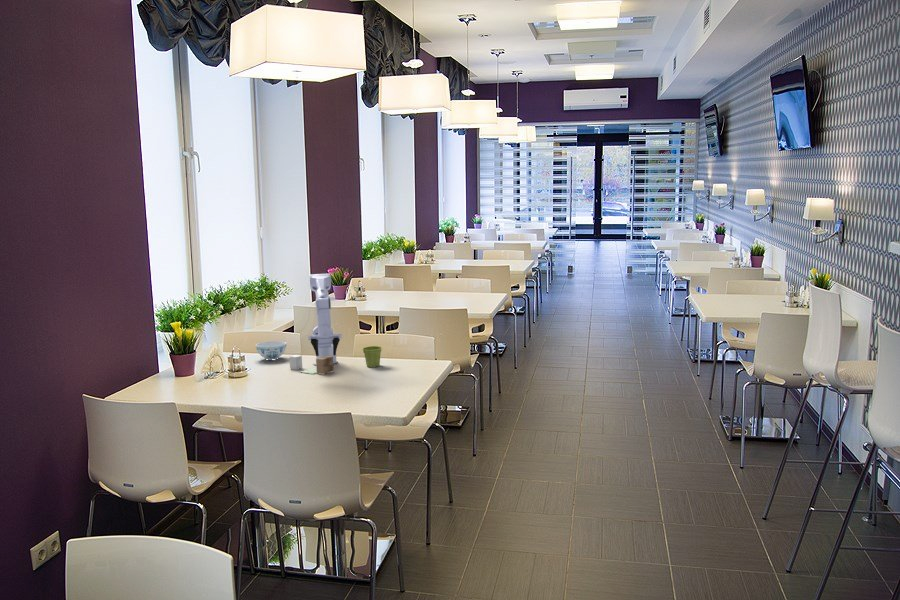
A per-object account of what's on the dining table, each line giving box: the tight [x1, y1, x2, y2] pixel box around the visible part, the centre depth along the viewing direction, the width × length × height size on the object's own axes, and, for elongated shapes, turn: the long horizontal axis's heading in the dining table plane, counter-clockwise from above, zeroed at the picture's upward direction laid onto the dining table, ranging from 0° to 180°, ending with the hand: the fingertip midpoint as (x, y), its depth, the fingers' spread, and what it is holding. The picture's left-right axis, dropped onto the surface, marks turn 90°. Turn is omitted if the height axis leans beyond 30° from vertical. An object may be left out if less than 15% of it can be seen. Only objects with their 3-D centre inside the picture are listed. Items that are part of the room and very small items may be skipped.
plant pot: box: [361, 345, 383, 368], centre depth 370 cm, size 9×9×9 cm
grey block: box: [289, 354, 303, 370], centre depth 369 cm, size 4×4×6 cm
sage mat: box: [300, 366, 317, 375], centre depth 364 cm, size 11×8×1 cm
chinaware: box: [255, 340, 287, 360], centre depth 391 cm, size 15×15×8 cm
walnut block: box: [315, 356, 335, 375], centre depth 360 cm, size 7×4×7 cm, turn 148°
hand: (326, 355), depth 347 cm, fingers open, 7 cm apart
